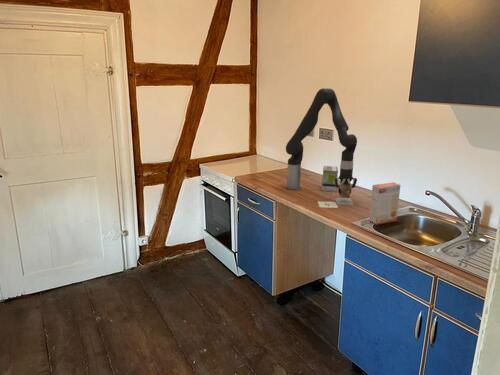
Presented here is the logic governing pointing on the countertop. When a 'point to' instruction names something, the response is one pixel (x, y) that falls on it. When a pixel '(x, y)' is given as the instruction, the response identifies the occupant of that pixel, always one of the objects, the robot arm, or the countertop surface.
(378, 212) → the cracker box
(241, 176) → the countertop surface
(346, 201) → the slate pad
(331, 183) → the tea box
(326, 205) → the card
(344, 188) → the walnut block
